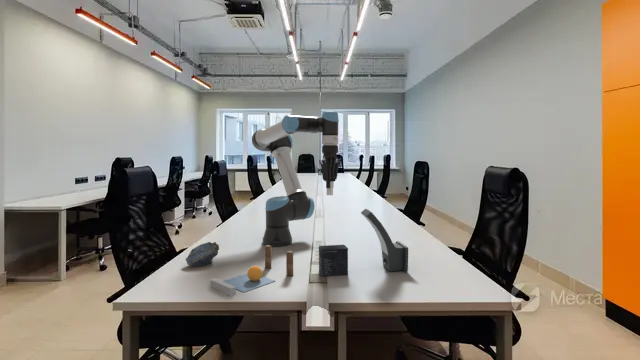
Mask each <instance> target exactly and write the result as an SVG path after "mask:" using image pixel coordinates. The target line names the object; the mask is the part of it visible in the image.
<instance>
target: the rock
mask: <svg viewBox="0 0 640 360" xmlns="http://www.w3.org/2000/svg"><path fill="white" fill-rule="evenodd" d="M219 245H220V244H219V243H217V242H216V241H214V242H211V241H207V242H205V243H201V244H200V245H197V246H196V247H194V248H192V249H191V250H190V252H189V254H188V256H187V257H185V261H186V264H187V265H188V266H192V267H195V266H199V267H202V266H206V265H209V264H210V263H211V262H212V261H213V259H214V258H215V257H216V256H218V254H219V250H220V246H219Z"/></svg>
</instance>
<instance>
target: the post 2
mask: <svg viewBox="0 0 640 360" xmlns="http://www.w3.org/2000/svg"><path fill="white" fill-rule="evenodd" d="M285 259H286V261H285V262H286V263H285V264H286V265H285V266H286V268H285V269H286V271H285V272H286V275H285V276H286V277H293V276H294V251H293V250H288V251H286V256H285Z"/></svg>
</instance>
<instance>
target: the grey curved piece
mask: <svg viewBox="0 0 640 360" xmlns="http://www.w3.org/2000/svg"><path fill="white" fill-rule="evenodd" d="M360 213H361V215H362V216H363V217H364V218H365V219H366V220H367V222H368V223H369V224H370V226H371V227H372V228H373V229H374V232H375V233H376V235H377V238H378V240H379V244H380V247H381V257H382V266H383V267H384V268H385V269H386V270H387V272H391V273H392V272H398V271H399V272H400V271H403V272H404V273H408V271H409V247H408V246H407V245H405V244H404V243H402V242H401V241H395V242H393V240H392V239H391V237H390V235H389V234H388V231H387V230H386V228H385V227H384V225H383V224H382V223H381V221H380V220H379V219H378V218H377V217H376V216H375V214H374V213H373V212H372V210H369V209H368V208H364V209H363V210H362V211H361V212H360Z"/></svg>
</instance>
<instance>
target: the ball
mask: <svg viewBox="0 0 640 360" xmlns="http://www.w3.org/2000/svg"><path fill="white" fill-rule="evenodd" d="M246 274H247V276H248V278H249V279H250V280H251V281H258V280H259V279H261V277H262V276H263V270H262V268H261V267H260V266H259V265H252V266H250V267H249V268H248V270H247V273H246Z"/></svg>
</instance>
